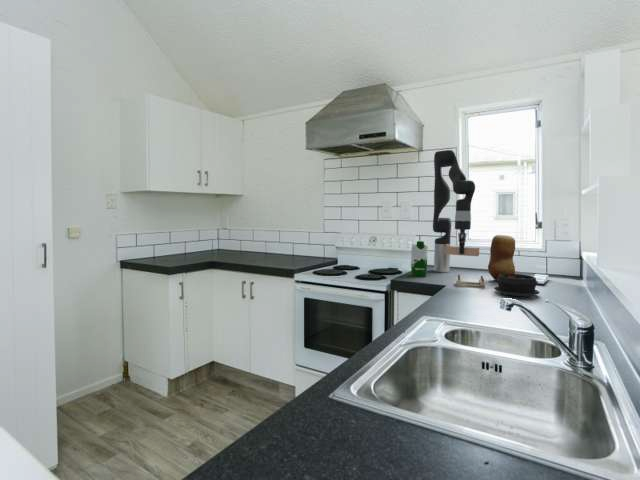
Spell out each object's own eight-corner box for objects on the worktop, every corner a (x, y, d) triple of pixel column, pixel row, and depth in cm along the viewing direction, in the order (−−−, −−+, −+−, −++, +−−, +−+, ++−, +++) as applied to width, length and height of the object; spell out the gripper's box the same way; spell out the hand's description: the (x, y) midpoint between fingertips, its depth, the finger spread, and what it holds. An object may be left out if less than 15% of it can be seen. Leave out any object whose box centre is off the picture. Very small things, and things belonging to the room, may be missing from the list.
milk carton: (412, 276, 225) (413, 241, 224) (410, 274, 234) (411, 240, 232) (427, 277, 224) (428, 242, 223) (425, 274, 233) (426, 240, 232)
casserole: (493, 287, 196) (493, 270, 195) (535, 291, 189) (536, 273, 188) (494, 298, 172) (495, 279, 172) (543, 302, 166) (544, 282, 165)
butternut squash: (517, 284, 206) (519, 236, 204) (489, 282, 208) (492, 235, 206) (510, 279, 219) (512, 234, 217) (484, 278, 222) (486, 233, 220)
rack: (456, 282, 208) (456, 274, 207) (483, 284, 203) (483, 275, 203) (456, 286, 198) (457, 277, 198) (484, 288, 194) (485, 279, 194)
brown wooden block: (446, 253, 208) (446, 246, 207) (478, 255, 199) (479, 247, 199) (444, 254, 204) (444, 246, 204) (477, 256, 196) (477, 248, 196)
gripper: (455, 219, 209) (454, 252, 210) (454, 220, 195) (453, 254, 196) (470, 220, 206) (469, 252, 207) (470, 220, 193) (469, 255, 194)
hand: (461, 253), depth 202 cm, fingers closed on brown wooden block, 4 cm apart
